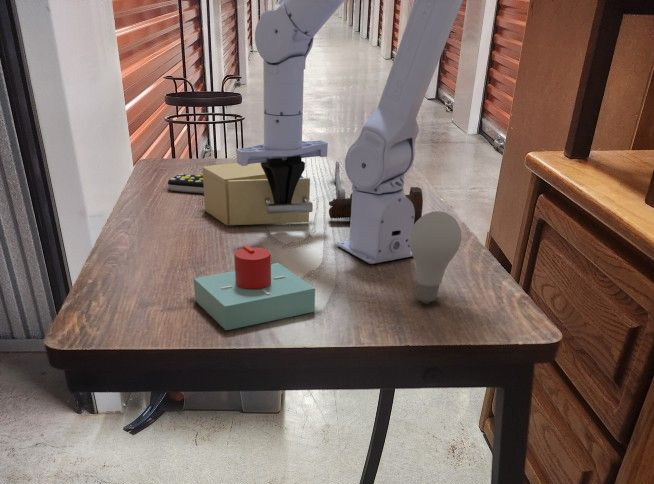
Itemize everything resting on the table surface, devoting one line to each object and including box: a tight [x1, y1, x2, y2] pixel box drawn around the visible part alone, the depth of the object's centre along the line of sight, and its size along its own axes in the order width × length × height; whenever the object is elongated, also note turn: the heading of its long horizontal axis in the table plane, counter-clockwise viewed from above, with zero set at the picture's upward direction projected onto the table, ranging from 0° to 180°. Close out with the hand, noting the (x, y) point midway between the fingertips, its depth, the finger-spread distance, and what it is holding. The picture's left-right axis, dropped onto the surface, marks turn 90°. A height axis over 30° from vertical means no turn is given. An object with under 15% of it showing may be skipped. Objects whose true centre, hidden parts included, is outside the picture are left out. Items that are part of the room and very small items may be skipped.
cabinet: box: [202, 162, 267, 226], centre depth 113 cm, size 10×14×7 cm
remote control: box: [167, 173, 204, 195], centre depth 126 cm, size 6×13×2 cm, turn 72°
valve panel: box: [193, 262, 316, 331], centre depth 82 cm, size 10×12×3 cm
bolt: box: [328, 186, 424, 224], centre depth 109 cm, size 6×5×15 cm
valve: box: [233, 244, 272, 289], centre depth 80 cm, size 4×4×4 cm
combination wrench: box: [334, 161, 346, 199], centre depth 124 cm, size 4×1×20 cm
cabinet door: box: [228, 177, 314, 226], centre depth 105 cm, size 6×13×7 cm, turn 97°
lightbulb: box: [409, 210, 462, 304], centre depth 81 cm, size 6×6×11 cm
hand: (282, 210), depth 105 cm, fingers closed
